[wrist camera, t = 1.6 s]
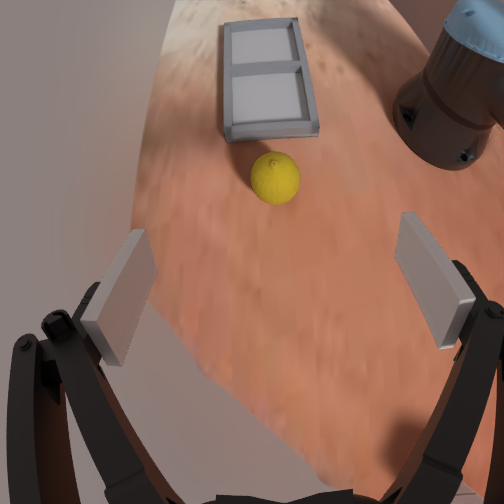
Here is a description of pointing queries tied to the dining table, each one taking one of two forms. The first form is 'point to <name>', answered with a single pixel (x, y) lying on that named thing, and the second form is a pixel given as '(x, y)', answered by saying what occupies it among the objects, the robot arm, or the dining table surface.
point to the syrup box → (466, 496)
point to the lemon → (275, 178)
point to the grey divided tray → (267, 82)
